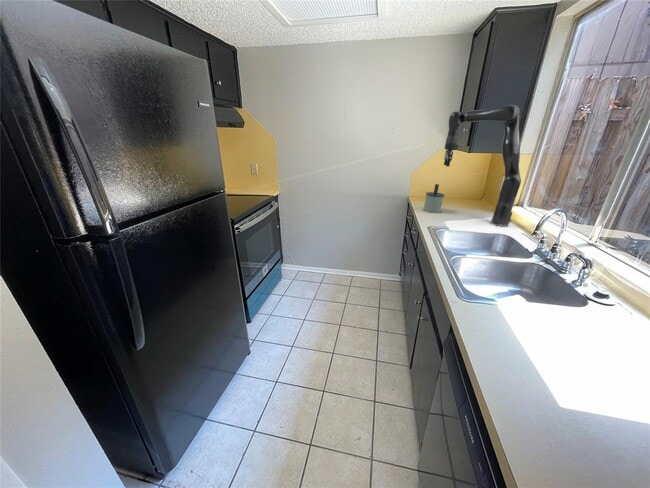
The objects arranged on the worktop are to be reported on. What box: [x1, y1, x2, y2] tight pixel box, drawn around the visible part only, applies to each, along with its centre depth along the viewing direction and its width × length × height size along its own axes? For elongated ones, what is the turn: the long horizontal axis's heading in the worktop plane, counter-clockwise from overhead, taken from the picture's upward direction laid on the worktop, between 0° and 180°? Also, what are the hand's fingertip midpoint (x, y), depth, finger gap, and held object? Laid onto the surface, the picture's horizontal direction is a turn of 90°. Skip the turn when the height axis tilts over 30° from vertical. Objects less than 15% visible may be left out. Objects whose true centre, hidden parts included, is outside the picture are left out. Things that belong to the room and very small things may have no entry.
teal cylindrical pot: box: [423, 194, 444, 214], centre depth 201 cm, size 12×12×12 cm
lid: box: [425, 183, 445, 198], centre depth 197 cm, size 13×13×9 cm
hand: (446, 165), depth 193 cm, fingers open, 8 cm apart
